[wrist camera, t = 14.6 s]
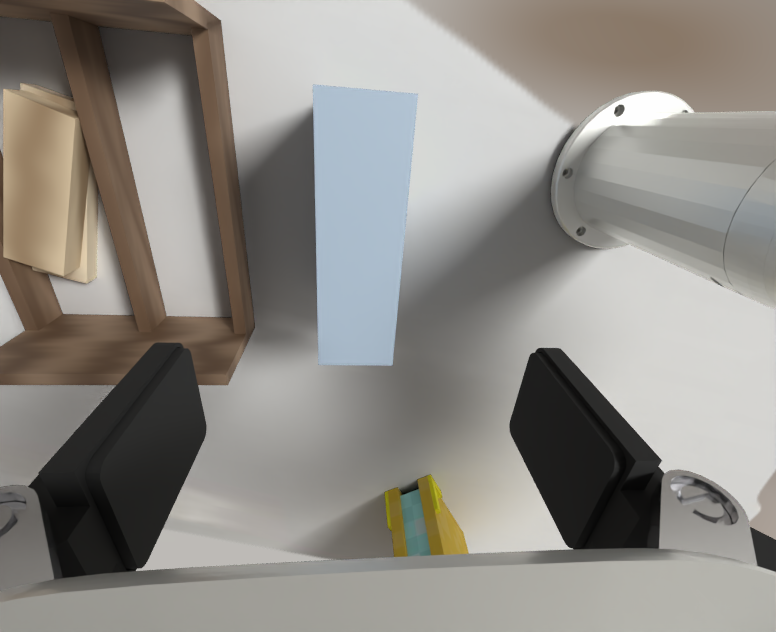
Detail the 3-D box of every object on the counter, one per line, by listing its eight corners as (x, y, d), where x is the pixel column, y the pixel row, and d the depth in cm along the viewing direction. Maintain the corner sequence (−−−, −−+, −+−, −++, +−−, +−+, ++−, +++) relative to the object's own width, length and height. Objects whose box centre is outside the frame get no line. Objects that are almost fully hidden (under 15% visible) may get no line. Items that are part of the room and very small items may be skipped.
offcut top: (94, 118, 26) (75, 118, 24) (80, 267, 31) (63, 276, 29) (28, 90, 25) (3, 88, 23) (24, 248, 30) (3, 257, 28)
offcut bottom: (104, 107, 27) (87, 106, 26) (100, 274, 33) (86, 283, 31) (41, 85, 26) (20, 82, 25) (49, 261, 32) (32, 269, 30)
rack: (220, 20, 25) (160, -26, 17) (254, 326, 36) (227, 385, 28) (-79, -11, 23) (-303, -79, 15) (54, 323, 34) (-35, 384, 26)
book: (384, 492, 50) (410, 789, 28) (430, 474, 49) (495, 767, 27) (430, 553, 57) (479, 824, 35) (470, 539, 56) (546, 807, 34)
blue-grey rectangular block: (393, 103, 28) (417, 93, 18) (380, 293, 36) (392, 365, 25) (327, 97, 28) (312, 84, 17) (328, 291, 35) (318, 364, 25)
